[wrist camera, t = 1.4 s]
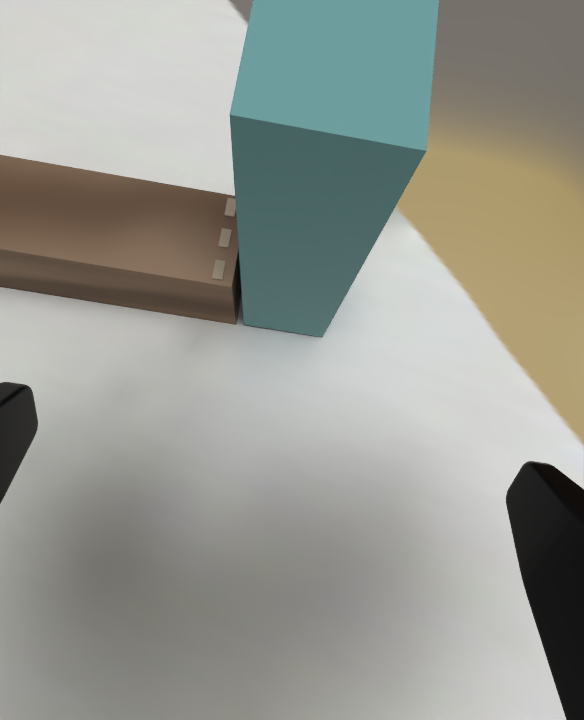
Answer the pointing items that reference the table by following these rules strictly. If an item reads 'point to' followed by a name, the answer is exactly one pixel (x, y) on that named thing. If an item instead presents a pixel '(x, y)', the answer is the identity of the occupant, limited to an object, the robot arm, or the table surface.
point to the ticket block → (118, 240)
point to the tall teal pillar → (324, 146)
